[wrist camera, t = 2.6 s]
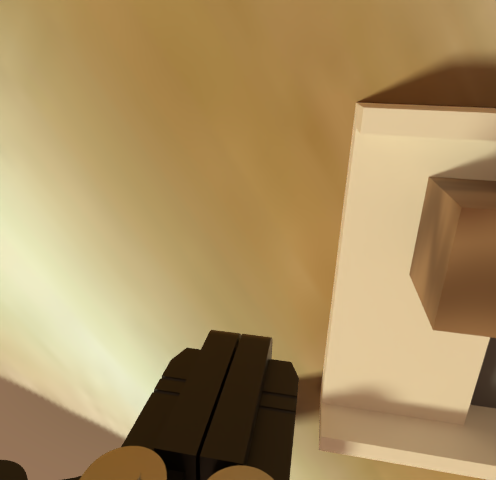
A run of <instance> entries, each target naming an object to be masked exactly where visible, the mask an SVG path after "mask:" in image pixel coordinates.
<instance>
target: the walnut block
mask: <svg viewBox="0 0 496 480" xmlns="http://www.w3.org/2000/svg"><path fill="white" fill-rule="evenodd" d="M409 275H410V277H411V280H412V282H413V284H414V287H415V289H416V292H417V294H418V296H419V299H420V301H421V303H422V306H423V308H424V310H425V313H426V315H427V317H428V320H429V322H430V325H431V327H432V329H433V330H436V331H444V332H452V333H460V334H468V335H476V336H484V337H492V338H496V181H487V180H472V179H458V178H443V177H429V178H428V183H427V188H426V193H425V198H424V203H423V208H422V213H421V218H420V223H419V228H418V233H417V238H416V243H415V248H414V253H413V258H412V263H411V268H410V273H409Z"/></svg>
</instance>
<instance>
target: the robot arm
mask: <svg viewBox="0 0 496 480" xmlns="http://www.w3.org/2000/svg"><path fill="white" fill-rule="evenodd" d="M271 357H272V338H270V337H263V336H255V335H247V334H242V335H241V334H239V333H231V332H223V331H216V330H211V331H210V332H209V334H208V336H207V338H206V340H205V342H204V345H203V347H202V349H201V350H199V349H192V348H186V349H185V350H183V351H182V352H181V353H179V354H178V355H177V356H176V357H174V358H173V359H172V360H171V361H170V363H169V364H168V366H167V368H166V370H165V371H164V373H163V375H162V379H160V380H159V382H158V384H157V385H156V387H155V389H154V393H153V392H152V394H151V396H150V398H149V399H148V401H147V403H146V405H145V406H144V408H143V410H142V412H141V413H140V415H139V417H138V419H137V420H136V422H135V424H134V426H133V427H132V429H131V431H130V433H129V434H128V436H127V438H126V440H125V441H124V443H123V445H122V446H121V448H117V449H114V450H112V451H109V452H107V453H105V454H104V455H102V456H101V457H99V458H98V459H96V460H95V461H94V462H93V463H92V464H91V465H90V466H89V467H88V469H87V470H86V471H85V472H84V474H83V475H82V476H79V477H76V478H70V479H64V480H289V478H290V467H291V457H292V446H293V436H294V425H295V414H296V403H297V392H298V382H299V378H298V376H297V373H296V371H295V369H294V367H293V365H292V363H291V362H286V361H279V360H272V359H271ZM0 480H28V479H27V475H26V472H25V471H24V469H23V468H22V467H21V466H20V465H19V464H17V463H15V462H12V461H8V460H0Z"/></svg>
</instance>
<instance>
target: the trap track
mask: <svg viewBox="0 0 496 480" xmlns="http://www.w3.org/2000/svg"><path fill="white" fill-rule="evenodd" d="M429 177H443V178H458V179H472V180H487V181H496V108H480V107H456V106H432V105H408V104H383V103H359V102H356V108H355V116H354V124H353V133H352V141H351V149H350V157H349V165H348V173H347V181H346V189H345V197H344V205H343V214H342V222H341V230H340V238H339V246H338V254H337V262H336V270H335V278H334V286H333V295H332V303H331V311H330V319H329V327H328V335H327V343H326V351H325V359H324V367H323V376H322V384H321V392H320V429H319V450H322V451H328V452H334V453H339V454H345V455H351V456H356V457H362V458H368V459H373V460H379V461H385V462H390V463H396V464H402V465H408V466H413V467H419V468H425V469H430V470H436V471H442V472H447V473H453V474H459V475H464V476H470V477H476V478H482V479H487V480H496V338H492V337H484V336H476V335H468V334H460V333H452V332H444V331H436V330H433V329H432V327H431V325H430V322H429V320H428V317H427V315H426V313H425V310H424V308H423V306H422V303H421V301H420V299H419V296H418V294H417V292H416V289H415V287H414V284H413V282H412V280H411V277H410V275H409V273H410V268H411V263H412V258H413V253H414V248H415V243H416V238H417V233H418V228H419V223H420V218H421V213H422V208H423V203H424V198H425V193H426V188H427V183H428V178H429Z"/></svg>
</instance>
